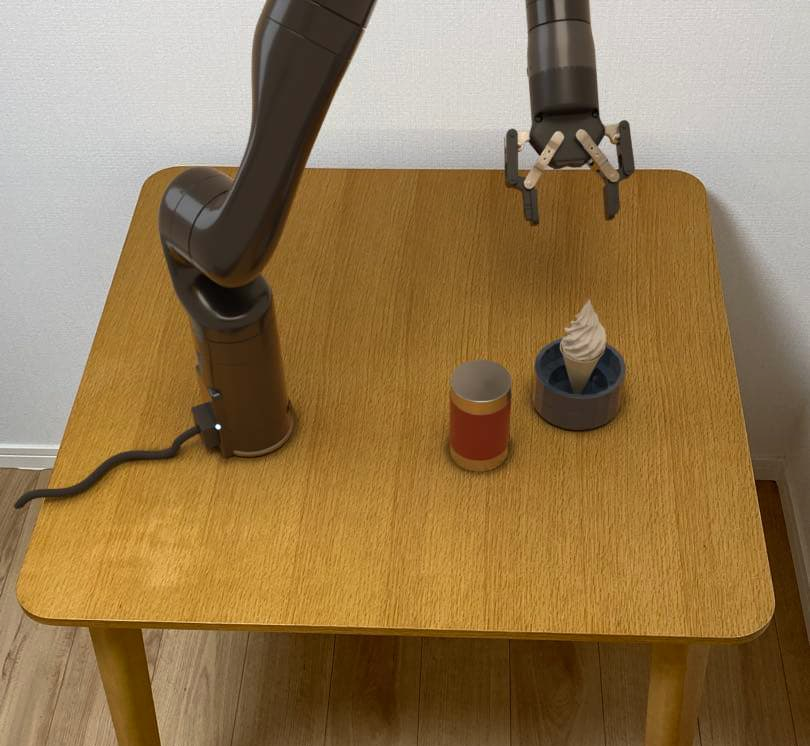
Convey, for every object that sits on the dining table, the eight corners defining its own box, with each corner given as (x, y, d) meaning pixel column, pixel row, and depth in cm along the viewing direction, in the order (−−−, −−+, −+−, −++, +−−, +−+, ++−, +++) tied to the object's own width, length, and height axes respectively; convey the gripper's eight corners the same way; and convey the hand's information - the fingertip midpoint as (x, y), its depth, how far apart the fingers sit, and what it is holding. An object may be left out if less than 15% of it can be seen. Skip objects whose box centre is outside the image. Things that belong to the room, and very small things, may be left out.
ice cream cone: (596, 415, 138) (609, 316, 126) (552, 410, 139) (562, 311, 127) (599, 386, 141) (613, 286, 130) (557, 381, 142) (567, 281, 130)
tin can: (466, 480, 133) (467, 410, 124) (439, 441, 137) (438, 370, 128) (518, 460, 135) (523, 389, 126) (491, 422, 139) (493, 351, 130)
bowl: (559, 443, 136) (563, 409, 132) (516, 387, 142) (518, 352, 138) (637, 414, 139) (643, 380, 134) (591, 360, 145) (595, 325, 140)
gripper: (502, 68, 127) (514, 222, 129) (633, 58, 128) (643, 211, 129) (494, 87, 135) (505, 232, 136) (618, 77, 135) (627, 222, 137)
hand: (572, 222), depth 133 cm, fingers open, 8 cm apart
